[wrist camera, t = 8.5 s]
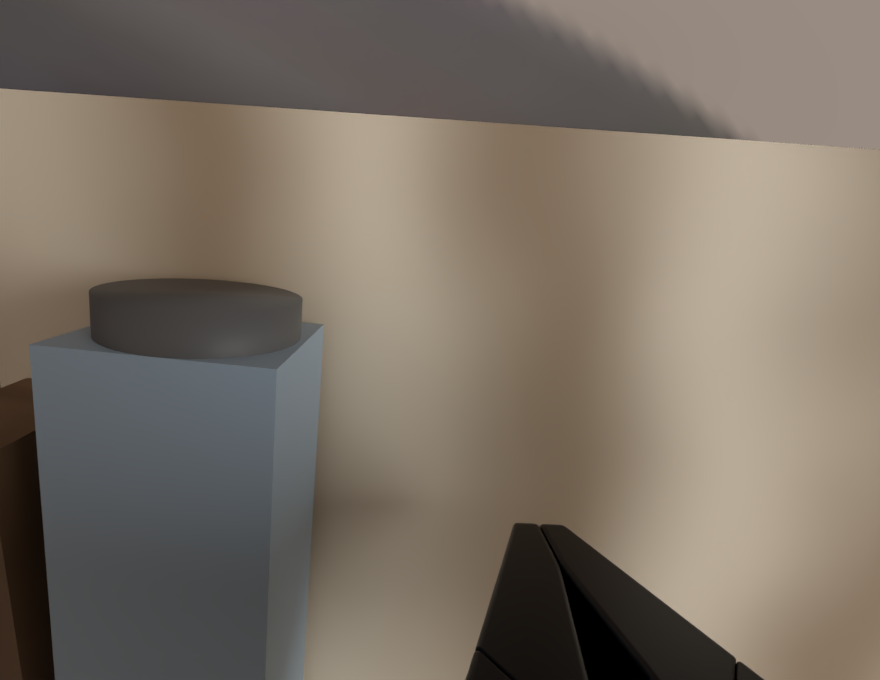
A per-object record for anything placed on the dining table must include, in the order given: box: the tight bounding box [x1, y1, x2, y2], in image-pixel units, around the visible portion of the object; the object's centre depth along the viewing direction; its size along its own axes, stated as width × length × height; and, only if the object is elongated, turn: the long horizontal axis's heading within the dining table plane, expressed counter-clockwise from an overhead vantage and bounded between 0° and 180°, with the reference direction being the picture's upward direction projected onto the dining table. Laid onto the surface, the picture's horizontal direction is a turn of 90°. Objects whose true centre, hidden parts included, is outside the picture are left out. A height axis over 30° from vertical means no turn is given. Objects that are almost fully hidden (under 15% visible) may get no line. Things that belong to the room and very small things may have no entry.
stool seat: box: [0, 89, 880, 680], centre depth 12 cm, size 20×20×2 cm
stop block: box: [0, 378, 55, 680], centre depth 9 cm, size 2×6×3 cm, turn 176°
